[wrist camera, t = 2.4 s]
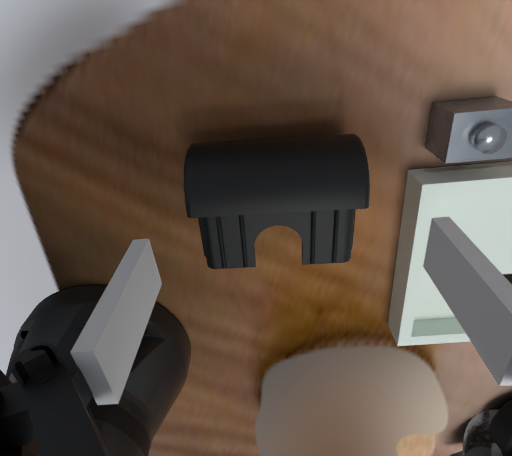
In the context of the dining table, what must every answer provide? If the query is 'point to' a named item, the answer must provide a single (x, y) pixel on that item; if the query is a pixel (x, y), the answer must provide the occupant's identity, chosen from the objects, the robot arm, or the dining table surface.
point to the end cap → (276, 195)
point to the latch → (470, 130)
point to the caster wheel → (489, 433)
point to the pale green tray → (416, 237)
